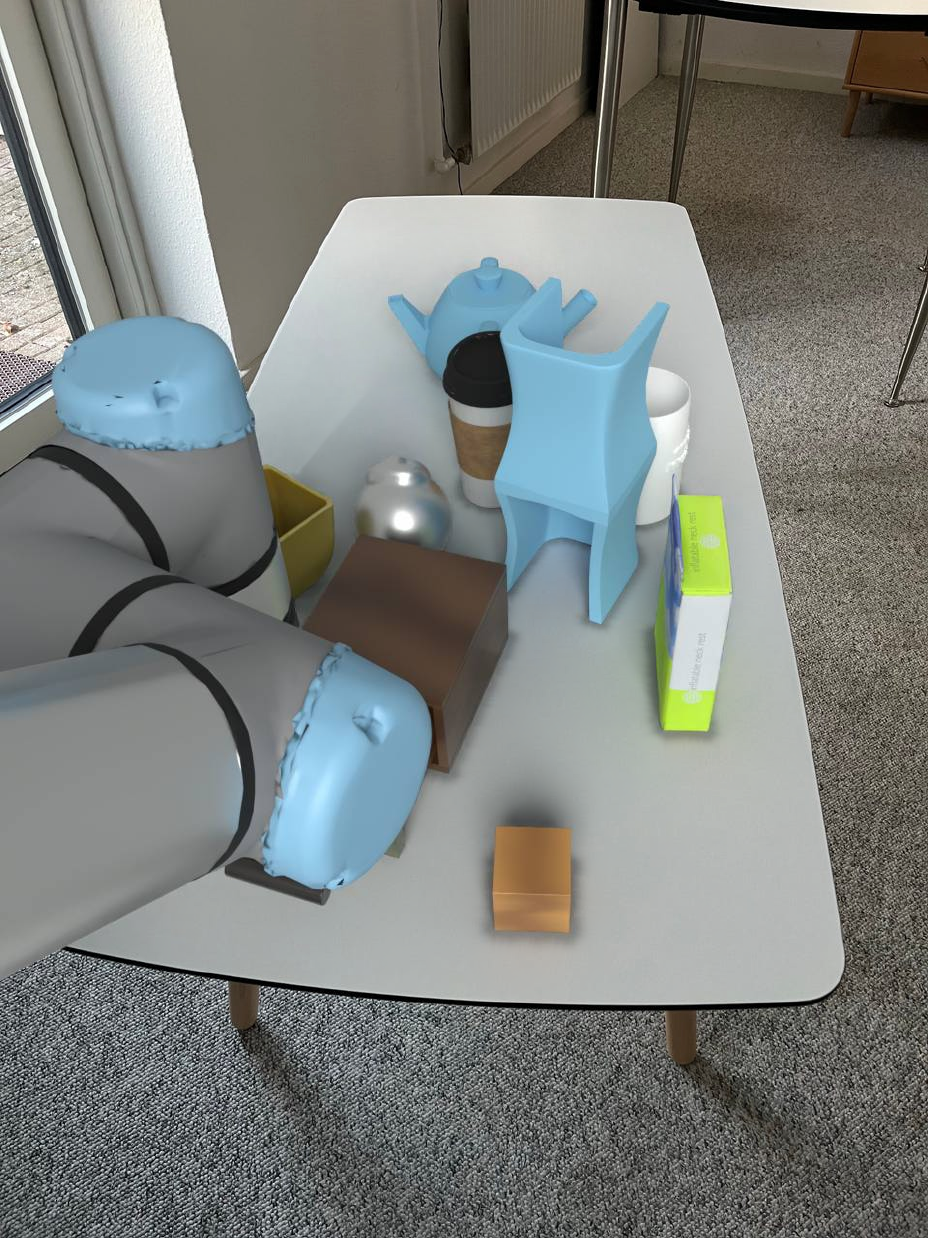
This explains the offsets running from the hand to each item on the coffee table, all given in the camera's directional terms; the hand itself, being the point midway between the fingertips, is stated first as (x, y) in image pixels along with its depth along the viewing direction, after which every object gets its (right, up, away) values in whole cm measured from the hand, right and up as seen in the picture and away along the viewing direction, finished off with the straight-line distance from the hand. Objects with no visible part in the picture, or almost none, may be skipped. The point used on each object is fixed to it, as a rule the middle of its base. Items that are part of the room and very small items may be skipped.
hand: (294, 855), depth 72 cm
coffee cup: (+14, +28, +32) cm, 45 cm away
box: (+29, +11, +15) cm, 34 cm away
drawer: (+3, +2, +7) cm, 8 cm away
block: (+16, -3, +2) cm, 16 cm away
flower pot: (-5, +19, +24) cm, 31 cm away
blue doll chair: (+21, +20, +24) cm, 38 cm away
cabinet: (+7, +10, +16) cm, 20 cm away
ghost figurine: (+6, +22, +26) cm, 35 cm away
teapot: (+15, +44, +47) cm, 66 cm away
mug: (+28, +29, +32) cm, 51 cm away
